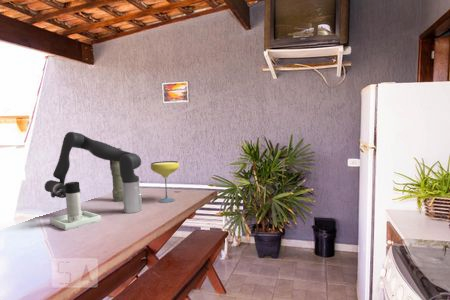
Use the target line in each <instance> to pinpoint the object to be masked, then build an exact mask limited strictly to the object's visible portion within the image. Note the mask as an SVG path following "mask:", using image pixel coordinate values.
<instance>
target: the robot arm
mask: <svg viewBox="0 0 450 300" xmlns="http://www.w3.org/2000/svg"><path fill="white" fill-rule="evenodd" d="M73 148H74V149H75V148H76V149H80V150H85V151H88V152H89V153H91V154H92V155H93V156H95V157H97V158H99V159H101V160H104V161H105V160H106V161H109V162H110V161H117V162H119V167H120V176H121V178H122V184H123V201H122V202H123V212H124V213H126V214H133V213H138V212H140V211H142V210H143V203H142V201H143V199H142V193H141V191H140V190H141V189H140V178H139V176H138V175H136V174H135V170H136V169H138V168H139V167H141V165H142V160H141V157H140V156H139V155H138V154H136V153H133V152H130V151H127V150H126V151H125V150H123V149H122V150H120V149H118V147H116V146H112V145H110V144H108V143H106V142H102V141H99V140H95V139H92V138H90V137H88V136H86V135H84V134H82V133H79V132H75V131H68V132H67V133H66V134H65V135H64V137H63V141H62V145H61V150H60V153H59V157H58V161H57V164H56V166H55V169H54V170H53V173H52V175H53V177H54V178H56V179H57V180H59V181H57V180H52V179H49V180H48V181H46V182H45V183H44V190H45V191H46V192H48V193H50V197H51V198H54V199H55V197H56V198H59V199H60V198H61V199H64V198H65V199H66V190H65V182H66V177H67V174H68V172H69V169H70V166H71V164H70V162H71V161H70V153H71V150H72V149H73Z"/></svg>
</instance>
